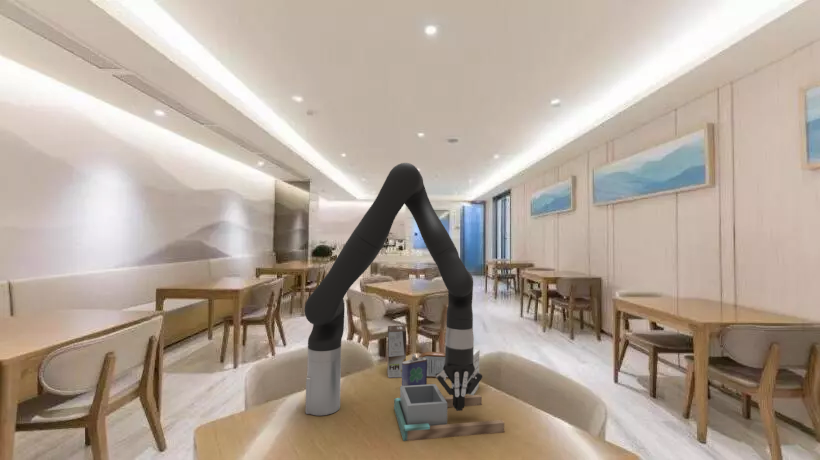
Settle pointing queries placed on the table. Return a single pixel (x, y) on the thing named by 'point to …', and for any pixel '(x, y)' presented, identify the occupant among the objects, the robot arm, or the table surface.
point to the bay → (448, 429)
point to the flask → (414, 371)
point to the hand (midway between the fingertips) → (458, 409)
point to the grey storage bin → (423, 405)
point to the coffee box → (396, 350)
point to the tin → (434, 363)
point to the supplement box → (476, 365)
